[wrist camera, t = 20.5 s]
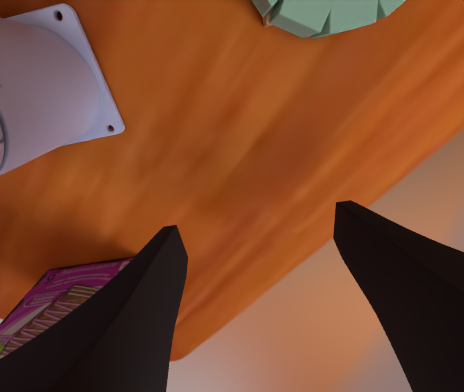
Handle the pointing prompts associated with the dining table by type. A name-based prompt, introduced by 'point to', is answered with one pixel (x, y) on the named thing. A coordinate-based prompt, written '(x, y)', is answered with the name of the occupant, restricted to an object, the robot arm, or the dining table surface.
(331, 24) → the ring
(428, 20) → the dining table surface
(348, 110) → the dining table surface
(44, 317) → the candy bar box
